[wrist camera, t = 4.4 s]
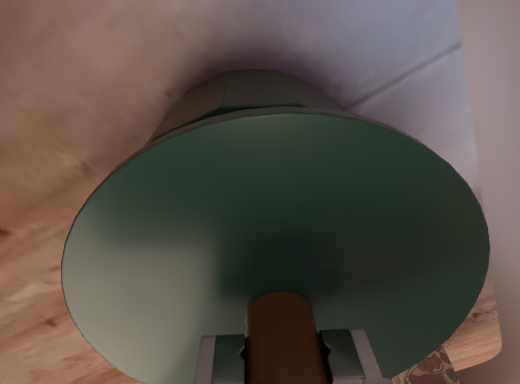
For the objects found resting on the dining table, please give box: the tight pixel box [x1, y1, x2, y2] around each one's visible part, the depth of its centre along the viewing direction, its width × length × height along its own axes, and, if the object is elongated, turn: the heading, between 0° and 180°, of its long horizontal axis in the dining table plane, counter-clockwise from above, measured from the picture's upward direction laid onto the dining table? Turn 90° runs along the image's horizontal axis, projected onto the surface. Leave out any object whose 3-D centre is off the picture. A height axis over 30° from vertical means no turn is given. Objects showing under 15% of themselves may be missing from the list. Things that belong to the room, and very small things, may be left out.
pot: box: [145, 69, 347, 146], centre depth 18 cm, size 15×15×8 cm
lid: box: [61, 106, 490, 384], centre depth 10 cm, size 16×16×5 cm
